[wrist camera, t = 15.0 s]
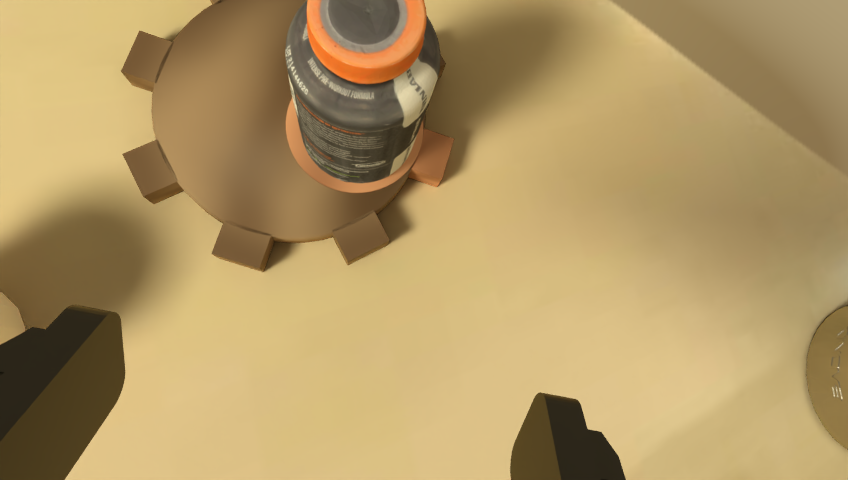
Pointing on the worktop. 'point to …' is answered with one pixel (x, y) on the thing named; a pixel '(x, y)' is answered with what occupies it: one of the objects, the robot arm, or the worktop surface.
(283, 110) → the sprocket
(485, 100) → the worktop surface
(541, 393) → the robot arm
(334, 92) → the pill bottle
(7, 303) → the white cylinder
